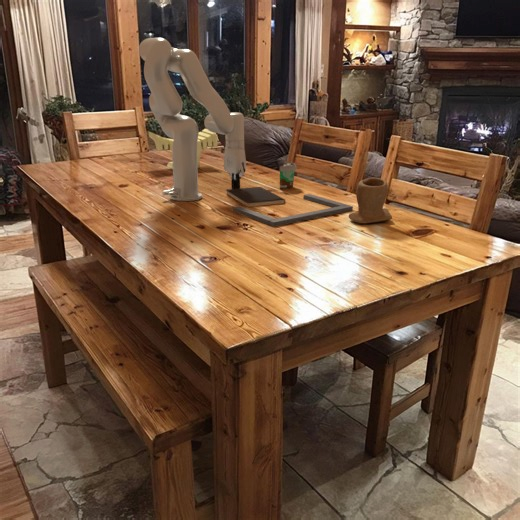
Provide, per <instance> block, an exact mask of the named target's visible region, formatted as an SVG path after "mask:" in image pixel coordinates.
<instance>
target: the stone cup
mask: <svg viewBox="0 0 520 520" xmlns="http://www.w3.org/2000/svg"><path fill="white" fill-rule="evenodd" d="M388 191H389V185H388V182H387V181H386V180H385V179H383V178H381V177H380V178H379V177H367V178H365V179H361V180H360V181H359V182H358V183H357V186H356V192H355V193H356V194H355V195H356V202H357V205H358V207H357V209H358V211H356V212H352V213H349V214H348V218H349V219H350V220H351V221H353V222H356V223H357V224H370V223H371V224H372V223H379V222H384V221H390V220H393V217H392V214H391V212H390V210H389V209H388V208H384V205H385V201H386V199H387V196H388V194H389V193H388Z"/></svg>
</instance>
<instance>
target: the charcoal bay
mask: <svg viewBox="0 0 520 520" xmlns="http://www.w3.org/2000/svg"><path fill="white" fill-rule="evenodd" d="M303 200H306V201H311V202H312V203H313V202H314V203H317V204H320V205H323V206H327V207H328V208H324V209H319V210H318V209H317V210H314V211H309V212H303V213H298V214H294V215H293V214H292V215H288V216H284V217H279V218H273V217H271V216H268V215H266V214H263V213H260V212H257V211H254V210H252V209H249V208H246V207H243V206H240V205H238V206H233V207H232V212H233V213H236V214H240V215H242V216H245V217H247V218H250V219H252V220H255V221H258V222H260V223H263V224H266V225H268V226H271V227H278V226H284V225H288V224H293V223H294V224H295V223H298V222H303V221H308V220H313V219H317V218H322V217H326V216H332V215H337V214H342V213H348V212H350V211H351V210H352V211H353V210H354V209H353V208H354V206H353V205H349V204H346V203H344V202H343V203H342V202H339V201H335V200H332V199H328V198H326V197H322V196H317V195H314V194H311V193H307V194H303Z"/></svg>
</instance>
